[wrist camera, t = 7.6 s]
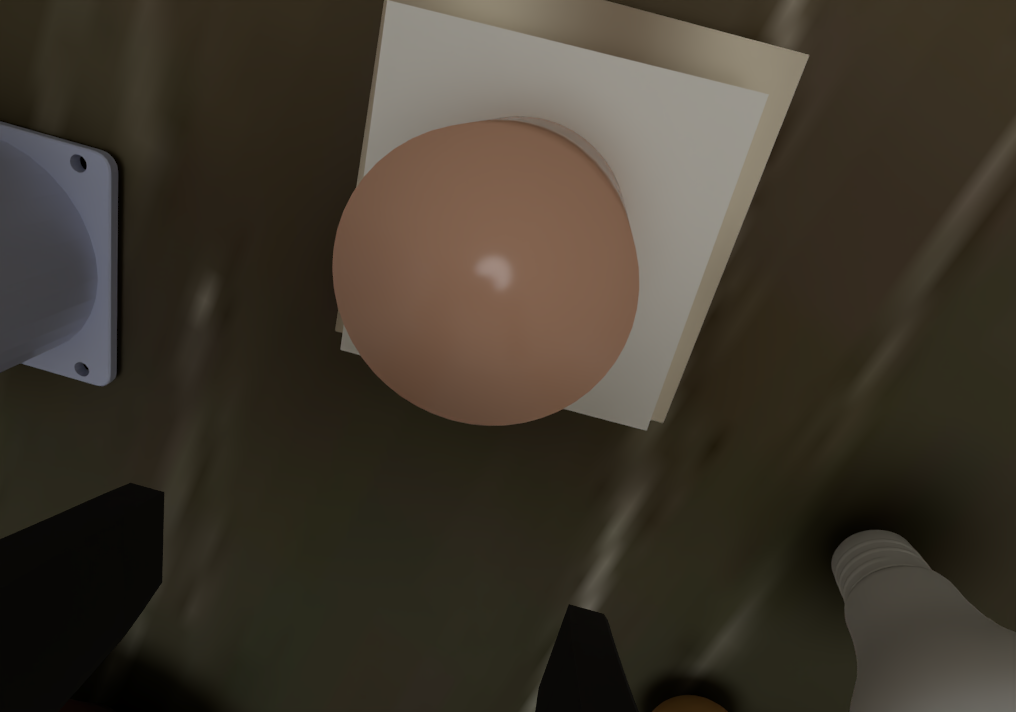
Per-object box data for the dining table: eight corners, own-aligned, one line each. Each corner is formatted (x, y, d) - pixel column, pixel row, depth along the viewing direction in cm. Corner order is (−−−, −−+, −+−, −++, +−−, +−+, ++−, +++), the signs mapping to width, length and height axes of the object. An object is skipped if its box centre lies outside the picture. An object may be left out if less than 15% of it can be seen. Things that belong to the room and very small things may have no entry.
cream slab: (371, 318, 18) (340, 349, 16) (418, 14, 15) (387, -1, 13) (639, 388, 18) (646, 430, 16) (742, 94, 15) (769, 94, 13)
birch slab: (362, 305, 21) (335, 330, 19) (419, -36, 17) (392, -57, 15) (655, 387, 21) (663, 423, 19) (779, 61, 17) (809, 54, 15)
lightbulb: (730, 528, 22) (851, 906, 11) (901, 432, 20) (1233, 789, 9) (829, 643, 23) (1016, 1075, 13) (1000, 563, 21) (1386, 1004, 11)
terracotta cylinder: (400, 299, 15) (317, 383, 11) (436, 91, 14) (353, 86, 9) (591, 350, 15) (589, 458, 11) (655, 147, 13) (684, 170, 9)
